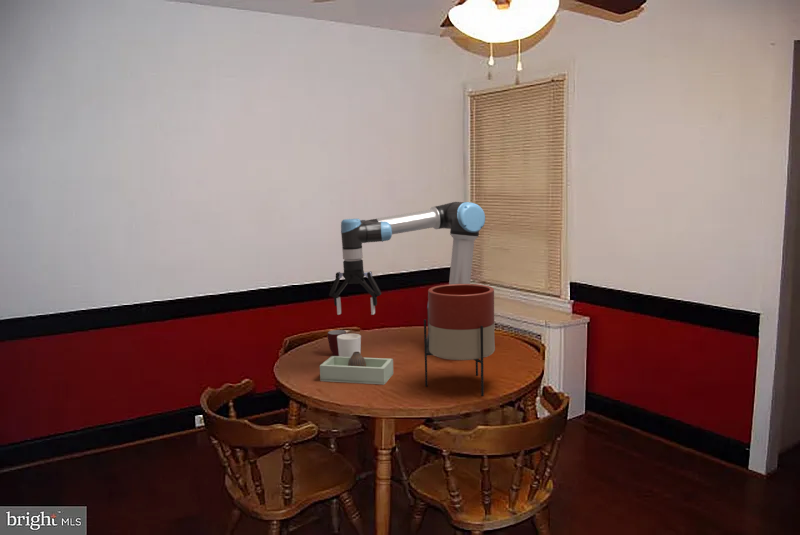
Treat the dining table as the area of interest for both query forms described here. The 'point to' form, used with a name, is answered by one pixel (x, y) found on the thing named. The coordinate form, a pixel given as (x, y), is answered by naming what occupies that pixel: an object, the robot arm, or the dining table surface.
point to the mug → (334, 340)
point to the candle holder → (348, 344)
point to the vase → (357, 360)
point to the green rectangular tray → (356, 370)
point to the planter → (460, 324)
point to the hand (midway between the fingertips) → (356, 314)
